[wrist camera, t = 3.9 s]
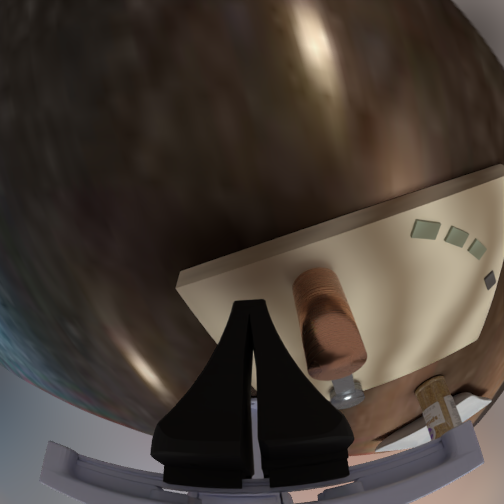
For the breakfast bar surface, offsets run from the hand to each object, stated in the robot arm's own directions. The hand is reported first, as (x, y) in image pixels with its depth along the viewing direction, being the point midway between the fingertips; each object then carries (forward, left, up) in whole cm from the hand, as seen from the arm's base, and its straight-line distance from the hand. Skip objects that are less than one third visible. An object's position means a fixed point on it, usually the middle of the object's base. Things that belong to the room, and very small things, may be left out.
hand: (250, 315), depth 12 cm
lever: (+3, -8, -2) cm, 9 cm away
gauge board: (+7, -8, -4) cm, 11 cm away
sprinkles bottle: (+14, -27, -4) cm, 31 cm away
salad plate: (+20, -50, -4) cm, 54 cm away
